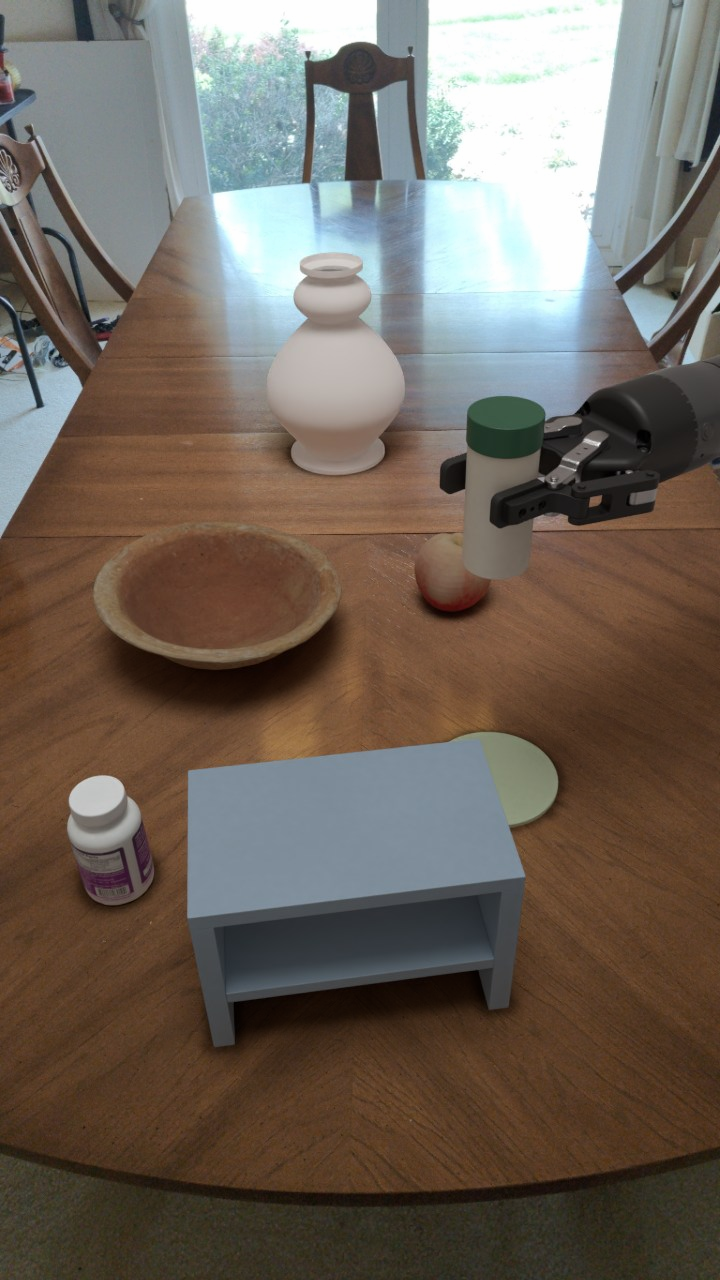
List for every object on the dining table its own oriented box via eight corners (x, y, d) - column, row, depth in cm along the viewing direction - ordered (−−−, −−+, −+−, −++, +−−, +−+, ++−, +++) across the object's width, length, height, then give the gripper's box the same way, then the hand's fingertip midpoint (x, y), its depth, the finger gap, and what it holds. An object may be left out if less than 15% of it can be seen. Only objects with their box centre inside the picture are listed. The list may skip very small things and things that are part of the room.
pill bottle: (121, 842, 79) (99, 756, 73) (169, 872, 77) (150, 786, 71) (70, 887, 76) (42, 801, 70) (118, 920, 73) (94, 834, 67)
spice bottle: (539, 577, 66) (555, 425, 59) (468, 584, 65) (477, 432, 58) (520, 539, 69) (533, 392, 63) (453, 545, 69) (460, 398, 62)
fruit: (501, 616, 102) (507, 551, 97) (429, 631, 100) (431, 565, 95) (473, 575, 108) (477, 512, 103) (404, 588, 106) (405, 525, 102)
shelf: (508, 1008, 67) (526, 876, 58) (214, 1048, 65) (186, 918, 56) (469, 869, 76) (479, 738, 68) (211, 900, 74) (187, 770, 66)
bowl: (286, 744, 88) (280, 676, 83) (60, 688, 94) (42, 621, 89) (375, 599, 105) (374, 535, 100) (178, 560, 112) (169, 498, 107)
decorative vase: (380, 494, 123) (379, 292, 107) (250, 474, 127) (231, 278, 112) (420, 433, 136) (423, 246, 121) (300, 417, 141) (289, 235, 125)
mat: (574, 821, 80) (575, 817, 80) (441, 836, 79) (442, 832, 79) (537, 729, 89) (537, 725, 88) (417, 742, 87) (417, 738, 87)
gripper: (728, 515, 67) (535, 597, 60) (583, 437, 77) (403, 500, 70) (752, 412, 62) (547, 489, 55) (595, 343, 72) (403, 401, 65)
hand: (468, 495), depth 63 cm, fingers closed on spice bottle, 4 cm apart
